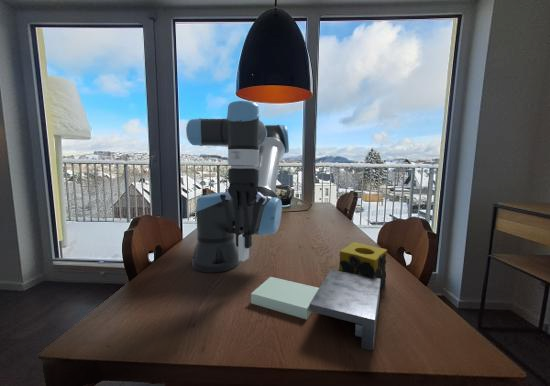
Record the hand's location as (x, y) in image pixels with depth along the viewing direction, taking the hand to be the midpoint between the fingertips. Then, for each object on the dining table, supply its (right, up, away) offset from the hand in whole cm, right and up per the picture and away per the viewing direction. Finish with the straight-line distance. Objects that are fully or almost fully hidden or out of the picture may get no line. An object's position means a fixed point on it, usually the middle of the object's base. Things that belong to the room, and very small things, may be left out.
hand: (243, 259), depth 67 cm
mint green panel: (+11, -10, -4) cm, 15 cm away
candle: (+32, -8, +5) cm, 34 cm away
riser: (+24, -10, -10) cm, 28 cm away
